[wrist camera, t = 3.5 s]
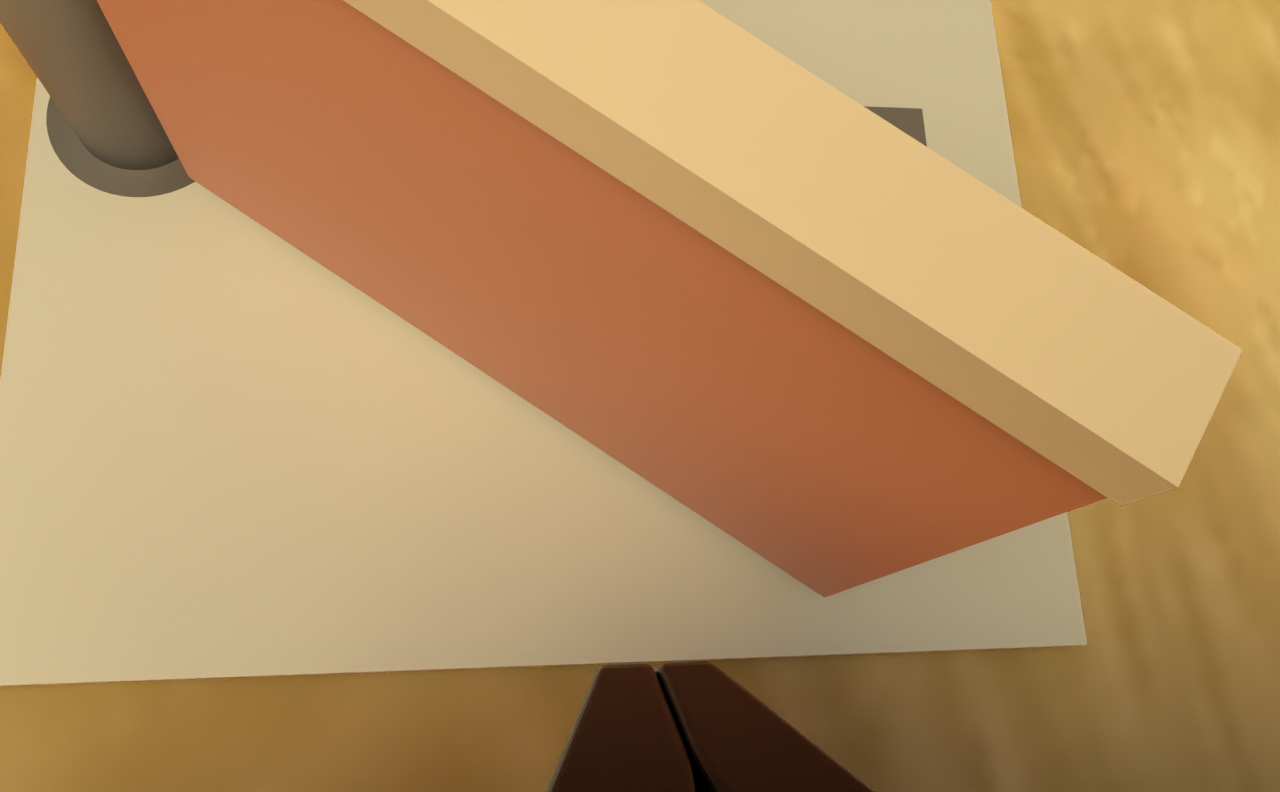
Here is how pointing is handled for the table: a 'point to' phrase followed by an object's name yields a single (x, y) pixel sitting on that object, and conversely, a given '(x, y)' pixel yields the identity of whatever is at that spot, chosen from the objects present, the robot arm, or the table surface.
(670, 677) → the robot arm
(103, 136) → the fixed fence
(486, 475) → the card
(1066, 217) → the table surface
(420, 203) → the fence panel
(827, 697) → the table surface
